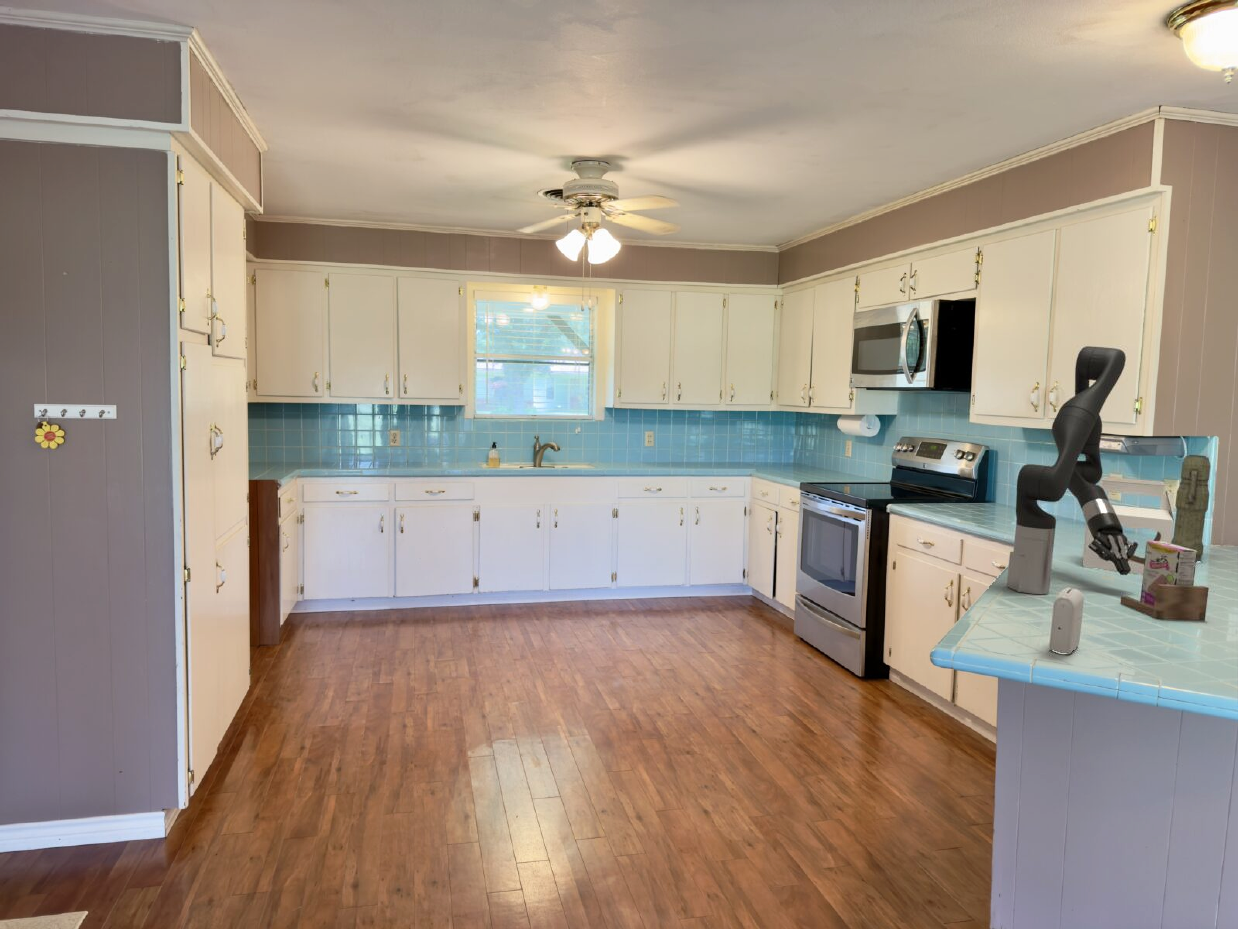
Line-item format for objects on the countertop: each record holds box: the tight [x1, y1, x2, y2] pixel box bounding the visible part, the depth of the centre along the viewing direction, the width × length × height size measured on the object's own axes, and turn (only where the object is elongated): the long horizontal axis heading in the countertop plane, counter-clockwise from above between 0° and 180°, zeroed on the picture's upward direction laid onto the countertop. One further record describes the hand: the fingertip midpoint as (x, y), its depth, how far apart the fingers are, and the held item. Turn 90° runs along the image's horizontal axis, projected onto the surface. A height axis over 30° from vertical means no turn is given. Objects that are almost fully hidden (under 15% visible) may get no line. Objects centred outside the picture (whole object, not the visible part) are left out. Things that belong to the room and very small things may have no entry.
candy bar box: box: [1139, 540, 1197, 607], centre depth 199 cm, size 11×5×16 cm, turn 4°
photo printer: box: [1048, 587, 1085, 655], centre depth 164 cm, size 10×4×12 cm, turn 140°
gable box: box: [1082, 476, 1175, 576], centre depth 249 cm, size 22×13×28 cm, turn 60°
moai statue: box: [1171, 454, 1211, 562], centre depth 268 cm, size 9×12×35 cm
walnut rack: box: [1120, 584, 1210, 622], centre depth 198 cm, size 12×14×8 cm
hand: (1125, 573), depth 212 cm, fingers closed
